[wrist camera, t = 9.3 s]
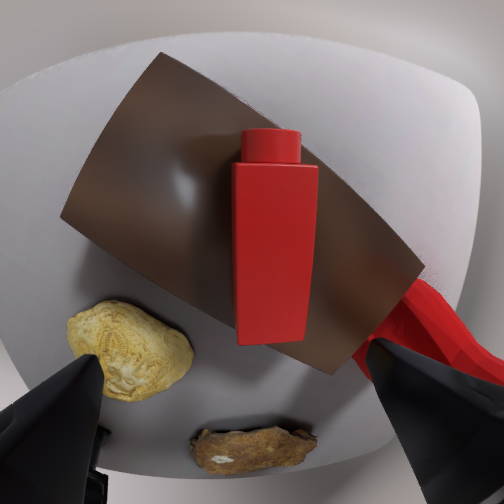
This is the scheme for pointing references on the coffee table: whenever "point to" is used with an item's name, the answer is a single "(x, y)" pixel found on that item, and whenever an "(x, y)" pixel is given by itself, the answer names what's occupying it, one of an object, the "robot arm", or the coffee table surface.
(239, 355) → the coffee table surface
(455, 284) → the coffee table surface
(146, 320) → the fossil
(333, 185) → the shelf
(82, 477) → the robot arm
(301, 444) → the decorative rock
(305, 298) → the red square bottle
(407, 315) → the water bottle
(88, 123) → the coffee table surface
